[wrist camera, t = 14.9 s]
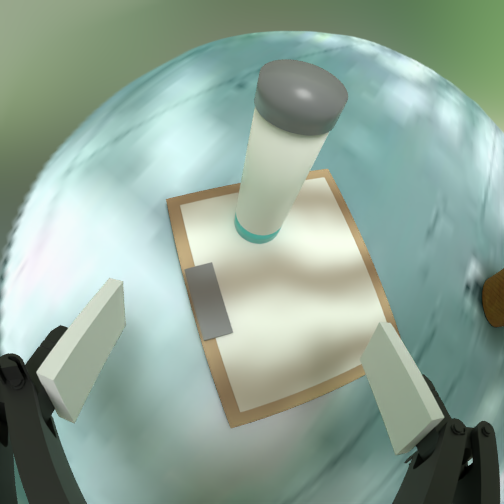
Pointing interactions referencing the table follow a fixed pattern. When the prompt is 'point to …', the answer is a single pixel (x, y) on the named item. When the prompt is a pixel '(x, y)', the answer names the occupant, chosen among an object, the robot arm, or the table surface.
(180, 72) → the table surface
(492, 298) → the disposable coffee cup
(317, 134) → the ball
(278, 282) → the clipboard
